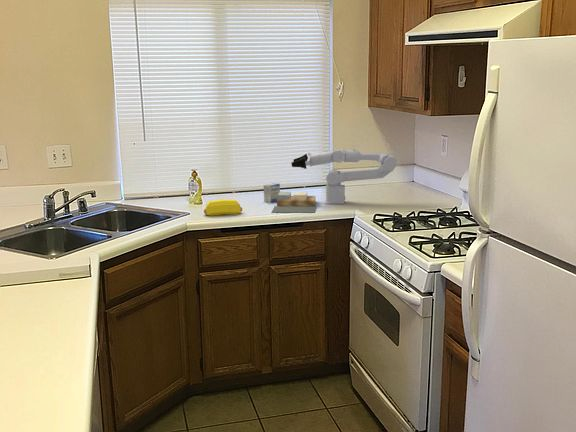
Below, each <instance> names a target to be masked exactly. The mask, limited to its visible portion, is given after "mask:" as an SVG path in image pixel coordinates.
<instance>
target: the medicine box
mask: <svg viewBox="0 0 576 432" xmlns="http://www.w3.org/2000/svg"><path fill="white" fill-rule="evenodd" d="M279 192H281V185H280V183H278V182H277V183H276V182H271V183H267V184H263V202H264V203H269V204H270V203H274V202H277V199H278V194H279Z"/></svg>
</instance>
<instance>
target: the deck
mask: <svg viewBox="0 0 576 432" xmlns="http://www.w3.org/2000/svg"><path fill="white" fill-rule="evenodd" d="M316 202H317V201H316V195H307V198H306V200H294V195H291V197H290V199H289V200H278V199H277V201H276V206H316Z"/></svg>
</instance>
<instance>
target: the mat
mask: <svg viewBox="0 0 576 432" xmlns="http://www.w3.org/2000/svg"><path fill="white" fill-rule="evenodd" d="M316 209H317V205H314V206H277V205H274V207H273V209H272V210H271V214H314V213H315V214H316Z"/></svg>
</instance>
